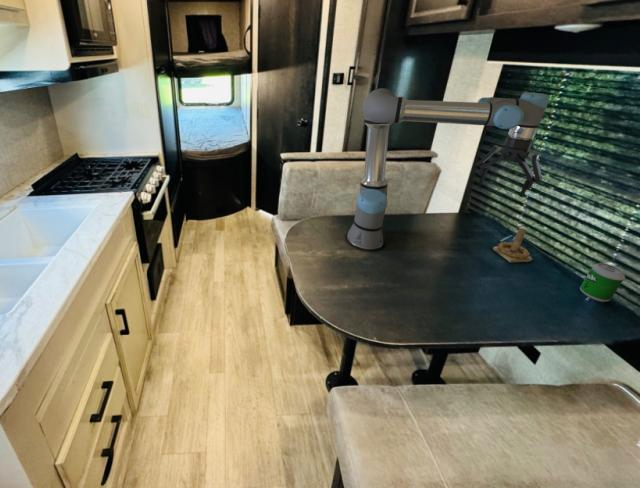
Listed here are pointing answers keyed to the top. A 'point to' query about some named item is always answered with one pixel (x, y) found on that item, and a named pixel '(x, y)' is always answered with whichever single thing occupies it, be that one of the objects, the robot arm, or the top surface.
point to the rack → (515, 247)
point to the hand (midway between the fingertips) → (500, 189)
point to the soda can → (602, 282)
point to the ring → (510, 254)
